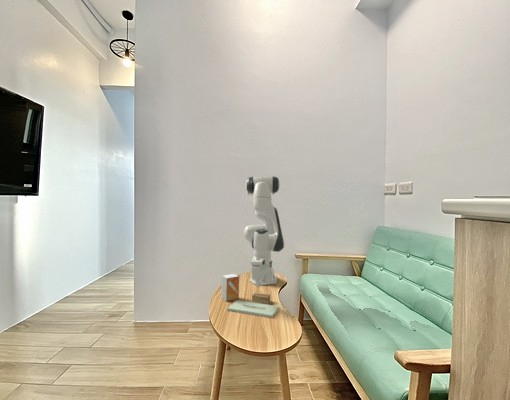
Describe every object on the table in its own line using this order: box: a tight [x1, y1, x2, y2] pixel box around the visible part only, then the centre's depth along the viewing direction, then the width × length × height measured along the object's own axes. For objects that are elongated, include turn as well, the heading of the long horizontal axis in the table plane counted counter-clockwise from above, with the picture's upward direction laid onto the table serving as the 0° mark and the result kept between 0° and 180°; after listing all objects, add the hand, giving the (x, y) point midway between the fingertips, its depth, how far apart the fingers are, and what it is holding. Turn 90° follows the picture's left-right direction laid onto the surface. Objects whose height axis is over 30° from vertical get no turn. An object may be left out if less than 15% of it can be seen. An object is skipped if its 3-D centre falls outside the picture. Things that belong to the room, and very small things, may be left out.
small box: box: [221, 273, 240, 302], centre depth 167 cm, size 8×6×13 cm
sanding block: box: [251, 292, 271, 305], centre depth 163 cm, size 5×9×4 cm, turn 72°
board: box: [227, 299, 280, 318], centre depth 152 cm, size 12×24×1 cm, turn 69°
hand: (261, 284), depth 162 cm, fingers open, 8 cm apart
